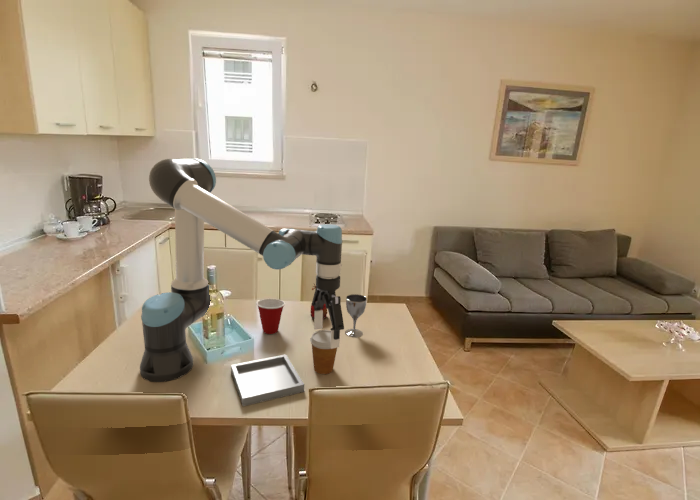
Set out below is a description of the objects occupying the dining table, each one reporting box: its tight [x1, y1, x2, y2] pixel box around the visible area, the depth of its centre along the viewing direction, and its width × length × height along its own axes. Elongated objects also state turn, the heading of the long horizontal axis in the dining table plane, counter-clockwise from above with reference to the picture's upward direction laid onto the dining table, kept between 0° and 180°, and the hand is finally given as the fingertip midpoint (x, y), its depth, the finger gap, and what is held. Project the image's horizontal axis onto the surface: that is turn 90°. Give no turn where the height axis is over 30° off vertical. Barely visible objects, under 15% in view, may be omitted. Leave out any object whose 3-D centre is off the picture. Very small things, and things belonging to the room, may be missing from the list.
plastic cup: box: [256, 298, 286, 335], centre depth 148 cm, size 11×11×12 cm
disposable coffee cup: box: [309, 329, 338, 375], centre depth 125 cm, size 10×10×12 cm
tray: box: [230, 353, 305, 407], centre depth 118 cm, size 18×18×2 cm
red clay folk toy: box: [310, 283, 328, 320], centre depth 162 cm, size 8×7×15 cm
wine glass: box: [344, 293, 368, 338], centre depth 150 cm, size 8×8×15 cm
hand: (326, 337), depth 123 cm, fingers open, 13 cm apart
